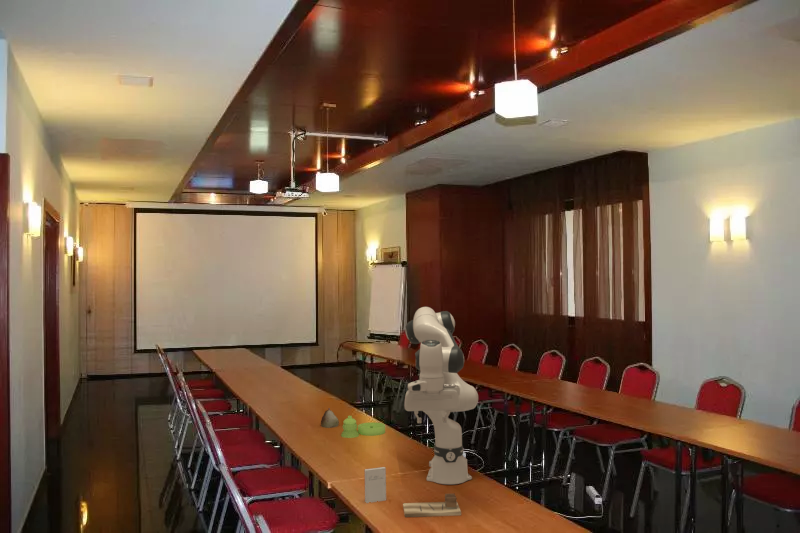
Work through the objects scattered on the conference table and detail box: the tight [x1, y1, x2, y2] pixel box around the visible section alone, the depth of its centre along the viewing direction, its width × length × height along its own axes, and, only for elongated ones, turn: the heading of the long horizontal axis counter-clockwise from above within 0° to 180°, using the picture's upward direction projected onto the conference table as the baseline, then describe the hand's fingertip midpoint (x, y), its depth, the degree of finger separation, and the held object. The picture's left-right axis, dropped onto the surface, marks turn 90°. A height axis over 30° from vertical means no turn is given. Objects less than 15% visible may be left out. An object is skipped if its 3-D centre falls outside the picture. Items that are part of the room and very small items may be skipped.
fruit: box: [320, 408, 340, 429], centre depth 369 cm, size 10×9×12 cm
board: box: [402, 501, 462, 518], centre depth 239 cm, size 11×20×1 cm, turn 93°
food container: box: [340, 415, 386, 439], centre depth 352 cm, size 25×14×13 cm, turn 122°
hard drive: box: [364, 466, 387, 504], centre depth 250 cm, size 2×8×12 cm, turn 112°
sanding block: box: [444, 493, 458, 509], centre depth 239 cm, size 5×4×4 cm
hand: (432, 422), depth 242 cm, fingers open, 8 cm apart
